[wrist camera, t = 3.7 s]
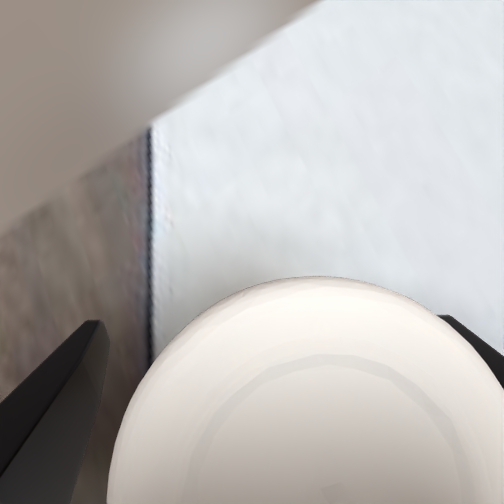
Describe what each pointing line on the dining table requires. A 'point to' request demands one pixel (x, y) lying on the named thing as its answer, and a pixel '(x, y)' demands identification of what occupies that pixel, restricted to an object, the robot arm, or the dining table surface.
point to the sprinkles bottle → (313, 405)
